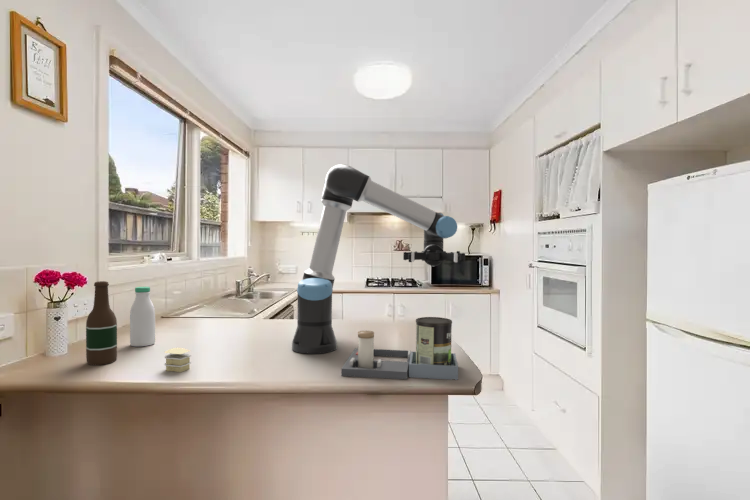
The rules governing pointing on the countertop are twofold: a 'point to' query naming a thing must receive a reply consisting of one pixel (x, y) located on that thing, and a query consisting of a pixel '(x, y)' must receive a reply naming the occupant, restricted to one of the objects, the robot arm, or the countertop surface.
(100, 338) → the beer bottle
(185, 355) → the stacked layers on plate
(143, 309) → the milk bottle
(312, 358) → the countertop surface
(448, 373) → the tray
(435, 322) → the coffee can
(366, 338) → the spice jar
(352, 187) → the robot arm
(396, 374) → the grey holder base
